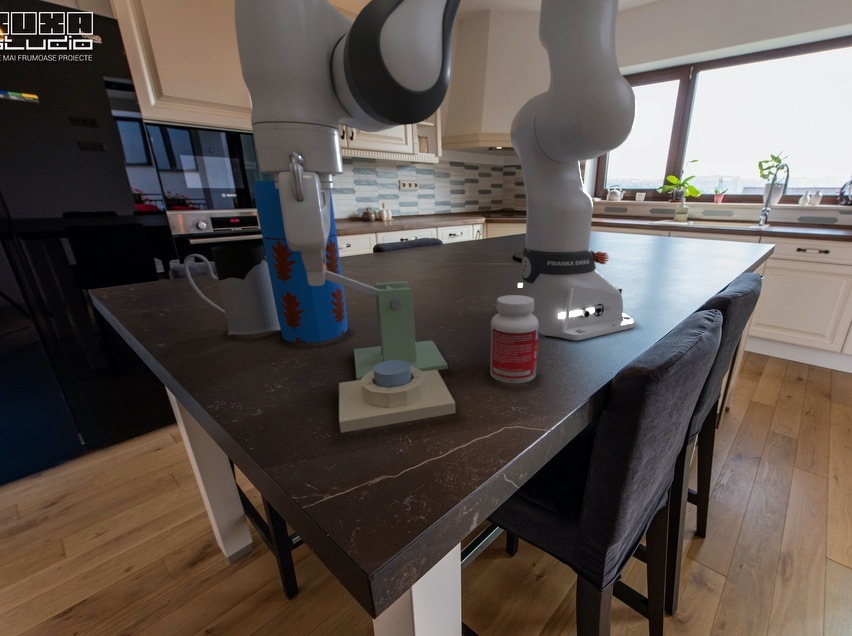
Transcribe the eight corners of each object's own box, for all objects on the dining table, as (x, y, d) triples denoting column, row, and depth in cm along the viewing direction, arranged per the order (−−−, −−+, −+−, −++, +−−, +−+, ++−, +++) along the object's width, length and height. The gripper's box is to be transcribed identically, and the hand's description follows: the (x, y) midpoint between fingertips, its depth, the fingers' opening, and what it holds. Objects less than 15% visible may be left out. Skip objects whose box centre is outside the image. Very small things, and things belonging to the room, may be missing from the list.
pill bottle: (542, 386, 51) (548, 304, 47) (496, 391, 50) (498, 307, 46) (526, 367, 57) (530, 292, 53) (485, 371, 55) (485, 294, 51)
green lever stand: (357, 387, 51) (346, 298, 47) (354, 358, 60) (345, 281, 56) (447, 374, 54) (445, 290, 50) (432, 348, 63) (429, 275, 59)
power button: (408, 371, 47) (407, 357, 46) (413, 386, 43) (413, 371, 43) (373, 376, 46) (372, 362, 45) (376, 391, 42) (375, 376, 42)
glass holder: (267, 340, 67) (248, 250, 61) (184, 340, 67) (158, 250, 62) (291, 324, 75) (276, 243, 70) (217, 323, 75) (197, 243, 70)
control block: (437, 384, 52) (436, 356, 50) (455, 419, 44) (454, 387, 42) (341, 398, 48) (337, 369, 47) (341, 440, 40) (336, 405, 39)
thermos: (326, 350, 63) (301, 180, 54) (267, 345, 65) (233, 180, 56) (359, 328, 73) (342, 182, 64) (307, 324, 75) (283, 182, 66)
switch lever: (305, 283, 47) (311, 264, 46) (308, 273, 52) (314, 256, 51) (403, 316, 52) (410, 299, 51) (397, 304, 57) (403, 289, 57)
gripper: (328, 150, 36) (346, 295, 41) (331, 163, 55) (344, 263, 59) (252, 147, 35) (280, 300, 39) (281, 162, 53) (298, 266, 58)
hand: (318, 278), depth 50 cm, fingers closed on switch lever, 6 cm apart
